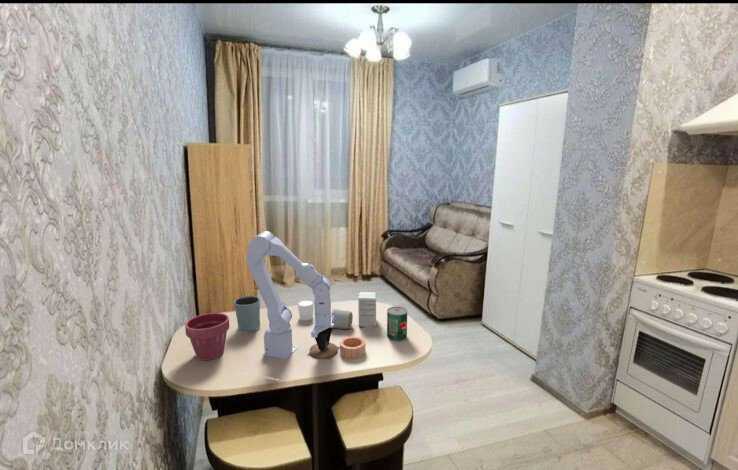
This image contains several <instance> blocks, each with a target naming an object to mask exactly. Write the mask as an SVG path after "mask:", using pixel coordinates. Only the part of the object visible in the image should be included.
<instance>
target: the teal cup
mask: <svg viewBox="0 0 738 470" xmlns="http://www.w3.org/2000/svg"><path fill="white" fill-rule="evenodd" d="M260 301H261V299H260V297H258V296H254V295H249V296H248V295H247V296H243V297H242V296H241V297H239V298H237V299H234V301H233V305H234V310H235V316H236V320H237V321H236V322H237V328H238V331H239V332H242V333H252V332H255V331H258V330H259V329H260V327H261V313H260V312H261V309H260V308H261V302H260Z"/></svg>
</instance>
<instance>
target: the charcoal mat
mask: <svg viewBox="0 0 738 470" xmlns="http://www.w3.org/2000/svg"><path fill="white" fill-rule="evenodd" d="M337 348H338V350H340V346H337ZM306 356H308V357H312V356H311V354H310V351H309V352H308V353H307V355H306ZM333 357H334V356H332V357H329V358H322V359H323V360H329V361H330V360H331V359H332V358H333Z"/></svg>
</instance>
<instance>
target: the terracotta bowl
mask: <svg viewBox="0 0 738 470" xmlns="http://www.w3.org/2000/svg"><path fill="white" fill-rule="evenodd" d="M339 347H340V348H339V354H340V356H341V357H343V358H345V359H359V358H361V357H363V356H365V354H366V341H365V339H364V338H362V337H359V336H348V337H347V336H345V337H344V338H342V339H341V340H340V341H339Z"/></svg>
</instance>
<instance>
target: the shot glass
mask: <svg viewBox="0 0 738 470" xmlns="http://www.w3.org/2000/svg"><path fill="white" fill-rule="evenodd" d="M297 309H298V316H299V320H300V321H305V322H308V321H311V320H313V317H314V300H310V299H309V300H301V301H299V302H297Z"/></svg>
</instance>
